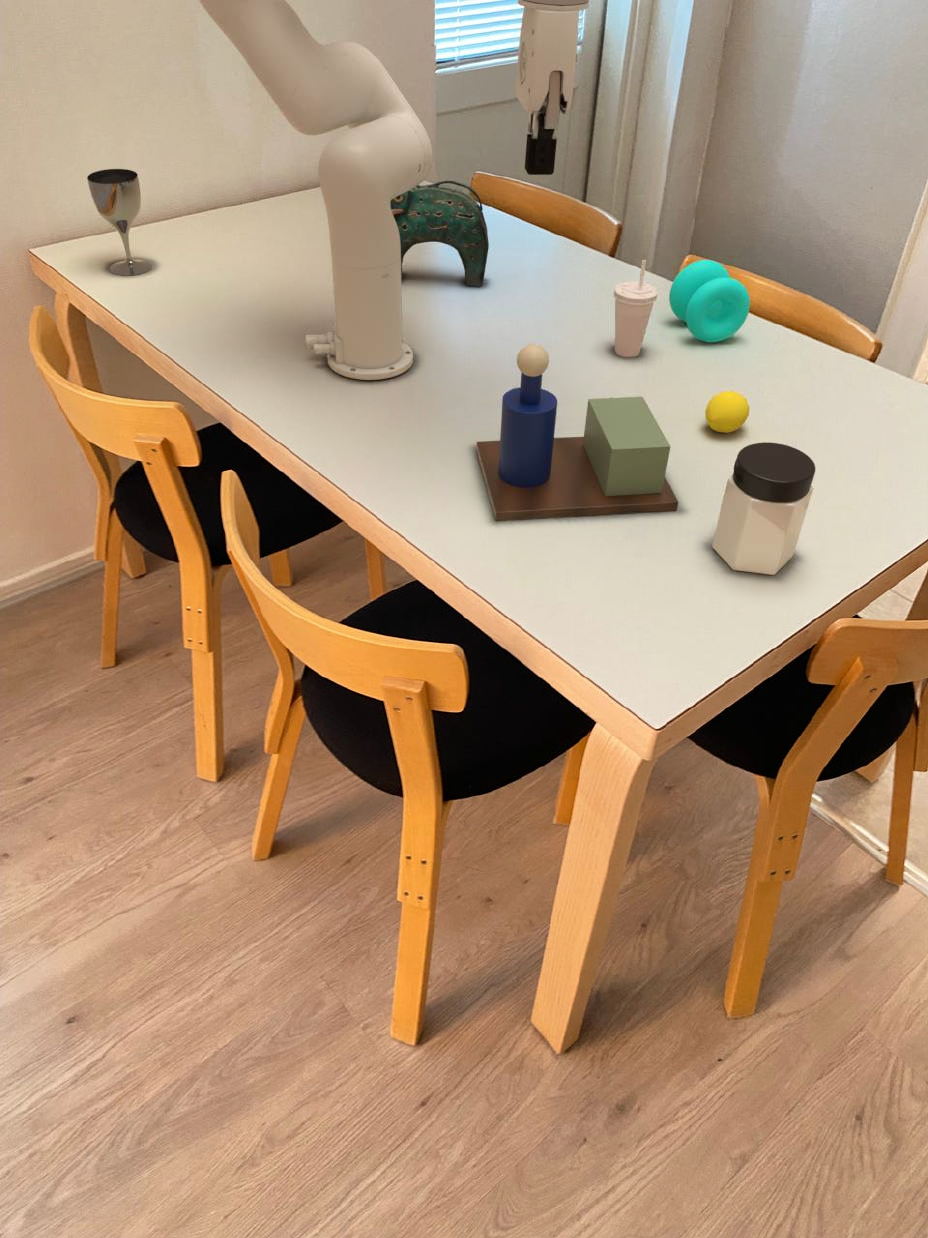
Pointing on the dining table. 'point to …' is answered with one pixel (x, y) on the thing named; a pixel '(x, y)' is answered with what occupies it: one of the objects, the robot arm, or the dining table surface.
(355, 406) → the dining table surface
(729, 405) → the lemon
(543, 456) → the bottle
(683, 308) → the donuts
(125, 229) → the wine glass
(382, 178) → the robot arm
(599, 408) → the block
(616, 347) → the smoothie
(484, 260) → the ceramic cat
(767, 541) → the jar
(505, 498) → the board
